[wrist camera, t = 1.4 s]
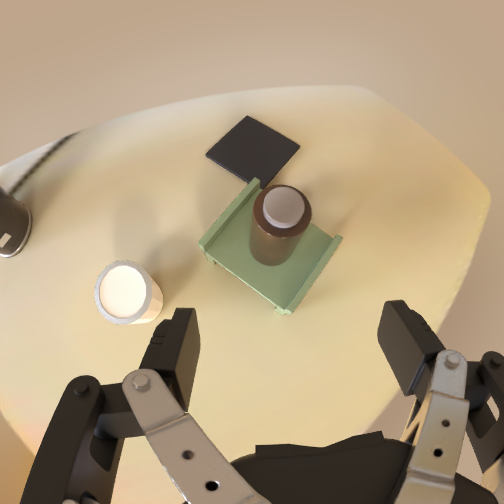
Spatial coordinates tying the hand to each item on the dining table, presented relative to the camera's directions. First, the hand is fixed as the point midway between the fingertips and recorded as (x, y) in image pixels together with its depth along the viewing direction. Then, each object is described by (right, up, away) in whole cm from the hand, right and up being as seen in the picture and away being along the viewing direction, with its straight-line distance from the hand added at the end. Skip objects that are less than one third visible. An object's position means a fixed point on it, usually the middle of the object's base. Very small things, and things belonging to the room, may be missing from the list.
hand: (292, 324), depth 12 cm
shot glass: (-15, -3, +23) cm, 28 cm away
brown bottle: (0, +4, +20) cm, 21 cm away
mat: (-2, +18, +29) cm, 34 cm away
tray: (0, +2, +25) cm, 25 cm away
